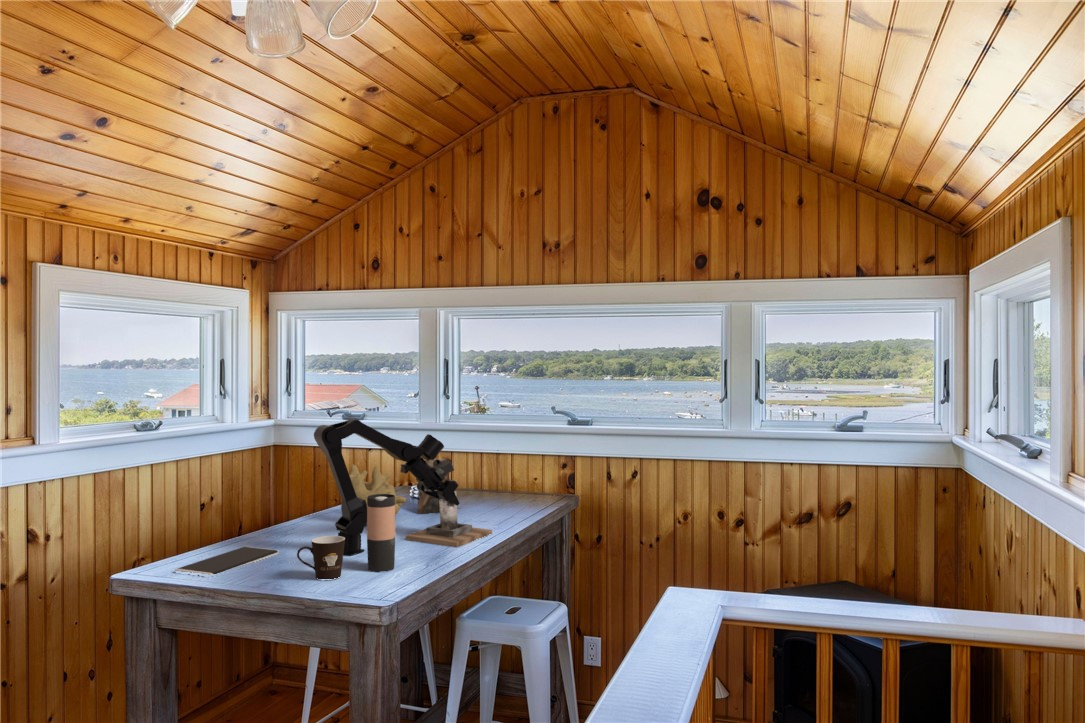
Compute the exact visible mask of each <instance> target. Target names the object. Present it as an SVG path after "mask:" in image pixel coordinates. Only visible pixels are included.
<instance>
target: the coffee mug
mask: <svg viewBox="0 0 1085 723" xmlns="http://www.w3.org/2000/svg"><path fill="white" fill-rule="evenodd" d="M344 544H345V538H344V537H341V536H338V535H325V536H319V537H318V536H317V537H314V538H312V539H311V546H307V545H306V546H302V547H299V549H298V550H297V552H296V557H297V559H298V561H299V562H301V563H302V564H303V565H306V566H308V567H309V568H311V569H313V570H314V573H315V579H316V578H318V579H334V578H338V577H340V576H341V577H342V571H343V570H342V569H343V560H344V555H343V553H344ZM303 550H309V551H310V553H311V554H312V557H313V558H312V559H313V565H312V564H310V563H308V562H306V561H304V560H303V559H302V558H301V557H300V552H301V551H303ZM341 577H340V578H341ZM338 579H339V578H338Z"/></svg>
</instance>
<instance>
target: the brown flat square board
mask: <svg viewBox="0 0 1085 723" xmlns="http://www.w3.org/2000/svg"><path fill="white" fill-rule="evenodd" d="M489 534H492V535H493V530H492V529H489V528H481V527H473V524H466V523H458V528H456V529H453V530H449V529H441V528H440V523H437V524H434V525H430V526H428V527H426V528H424V529H422V530H418V531H415V532H412V533H409V534H405V538H404V539H405V541H409V542H410V541H411V542H417V543H422V544H423V543H425V544H432V545H437V546H445V547H452V548H458V547H459V548H460V547H462V546H465V545H467V544H469V543H473V542H475V541H474V540H476V539H478V540H480V539H479V538H481V539H483V538H482V537H484V536H486V537H488V536H487V535H489ZM489 536H490V535H489ZM484 538H485V537H484ZM472 541H473V542H472ZM476 541H477V540H476Z"/></svg>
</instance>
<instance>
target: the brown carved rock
mask: <svg viewBox="0 0 1085 723" xmlns="http://www.w3.org/2000/svg"><path fill="white" fill-rule="evenodd" d="M436 459H438V460H440V461H441V462H442V460H448V459H446V458H435V459H434V460H436ZM434 460H433V461H434ZM425 461H426V460H425ZM433 461H432V460H429V461H426V462H427V464H428V465H429V466H430V467H433ZM448 461H450V460H448ZM444 477H445V479H444V480H442V482H445V481H446V480H451V479H450V473H448V474H446V475H445V476H444ZM417 500H418V501H417V515H429V513H435V514H440V505H439V499H437V498H434V497H432V496H429V495H427V494H425V492H424V493H422V492H420V491H419V490H418V499H417Z"/></svg>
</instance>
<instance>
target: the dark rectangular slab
mask: <svg viewBox="0 0 1085 723" xmlns="http://www.w3.org/2000/svg"><path fill="white" fill-rule="evenodd" d="M277 554H278V555H279V554H280V551H279V550H278V549H271V548H262V547H253V546H242V547H240V548H237V549H236V548H235V549H233V550H230V551H227V552H224V553H220V554H218V555H215V556H212V557H208V558H205V559H202V560H200V561H195V562H194V563H190V564H187V565H183V566H181V567H177V568H175V569H174V570H175V571H181V572H190V573H192V572H193V573H201V574H208V575H213V574H217V573H221V572H224V571H226V570H230V569H233V568H236V567H239V566H242V565H245V564H249V563H252V562H255V563H257V562H256V561H258V562H260V561H259V560H261V561H263V560H262V559H264V560H266V559H265V558H267V559H269V558H268V557H270V558H272V557H271V556H273V557H275V556H274V555H276V556H278V555H277Z"/></svg>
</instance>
